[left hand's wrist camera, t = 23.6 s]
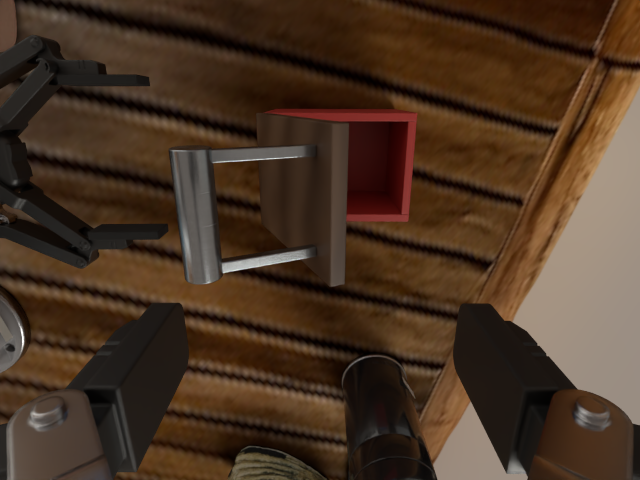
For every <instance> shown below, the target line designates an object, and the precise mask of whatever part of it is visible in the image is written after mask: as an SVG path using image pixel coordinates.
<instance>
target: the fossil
mask: <svg viewBox="0 0 640 480" xmlns="http://www.w3.org/2000/svg"><path fill="white" fill-rule="evenodd" d="M228 480H327V479H326V478H325V477H323V476H322V475H321V474H319V473H318V472H317V471H316V470H314V469H313V468H311V467H310V466H307V465H306V464H304V463H303V462H302V461H300V460H298V459H296V458H294V457H292V456H290V455H289V454H286V453H284V452H282V451H279V450H274V449H270V448H262V447H257V446H248V447H246V448H244V449H242V450H241V451H240V452H239V454H238V455H237V457H236V460H235V465H234V467H233V469H232V470H231V472H230V473H229V476H228Z"/></svg>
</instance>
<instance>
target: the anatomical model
mask: <svg viewBox="0 0 640 480" xmlns="http://www.w3.org/2000/svg"><path fill="white" fill-rule="evenodd" d="M16 38H17V22H16V9H15V3H14V0H0V52H4V51H6V50H8V49H9V48H11V47H13V46H14V44H15V42H16Z"/></svg>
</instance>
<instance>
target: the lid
mask: <svg viewBox="0 0 640 480" xmlns="http://www.w3.org/2000/svg"><path fill="white" fill-rule="evenodd" d="M256 122H257V142H258V146H256V147H237V148H217V149H212V148H211V147H209V146H201V145H189V146H177V147H172V148H169V156H170V164H171V172H172V180H173V188H174V196H175V204H176V211H177V219H178V227H179V235H180V243H181V251H182V258H183V266H184V274H185V280H186V281H187V282H189V283H192V284H208V283H212V282H215V281H217V280H219V279H220V278H221V277H222V276H223V273H226V272H232V271H237V270H243V269H249V268H254V267H260V266H266V265H271V264H277V263H283V262H288V261H294V260H302V261H303V262H304V263H305V264H306V265H307V266H308V267H309V268H310V269H311V270H312V271H313V272H315V273H316V274H317V275H318V276H319V277H320V278H321V279H322V280H323V281H324V282H325V283H326V284H327V285H329V286H330V287H333V286H337V285H342V284H345V257H346V220H347V183H348V146H349V123H347V122H339V121H331V120H323V119H314V118H306V117H298V116H290V115H281V114H273V113H256ZM253 160H258V161H259V181H260V201H261V221H262V224H263V225H264V226H265V227H266V228H267V229H268V230H269V231H270V232H271V233H272V234H273V235H275V236H276V237H277V238H278V239H279V240H280V241H281V242H282V243H283V244H284V245H285V246H286V247H288V248H285V249H279V250H273V251H267V252H261V253H254V254H248V255H242V256H236V257H230V258H224V259H222V256H221V245H220V234H219V223H218V212H217V201H216V190H215V179H214V168H213V163H223V162H238V161H253Z"/></svg>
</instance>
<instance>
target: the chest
mask: <svg viewBox="0 0 640 480" xmlns="http://www.w3.org/2000/svg"><path fill="white" fill-rule="evenodd" d="M264 113H273V114H281V115H290V116H298V117H306V118H314V119H323V120H331V121H339V122H347V123H349V146H348V183H347V220H346V221H408V217H409V205H410V193H411V181H412V169H413V157H414V145H415V134H416V121H417V113H414V112H408V111H402V110H397V109H274V110H271V111H267V112H264Z"/></svg>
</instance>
